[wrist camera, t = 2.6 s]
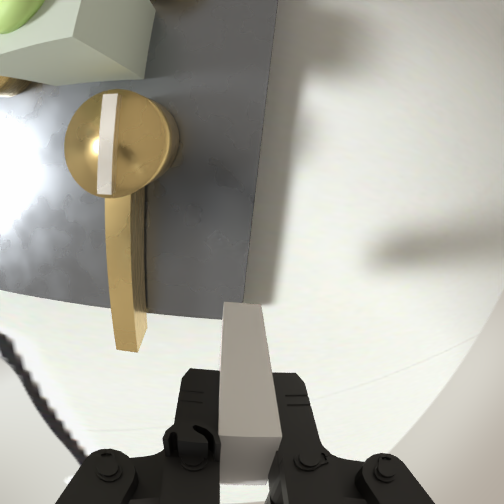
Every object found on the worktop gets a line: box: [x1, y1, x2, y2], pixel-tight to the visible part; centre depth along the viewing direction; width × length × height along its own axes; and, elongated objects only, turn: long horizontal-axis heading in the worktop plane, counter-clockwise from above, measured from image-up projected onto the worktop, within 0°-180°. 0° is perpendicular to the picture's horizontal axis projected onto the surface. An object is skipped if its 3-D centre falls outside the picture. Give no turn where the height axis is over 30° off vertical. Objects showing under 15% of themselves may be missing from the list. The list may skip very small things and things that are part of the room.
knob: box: [64, 89, 179, 352], centre depth 15 cm, size 14×5×5 cm, turn 174°
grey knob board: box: [0, 0, 278, 320], centre depth 13 cm, size 20×34×6 cm, turn 174°
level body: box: [0, 0, 156, 86], centre depth 9 cm, size 6×5×10 cm
